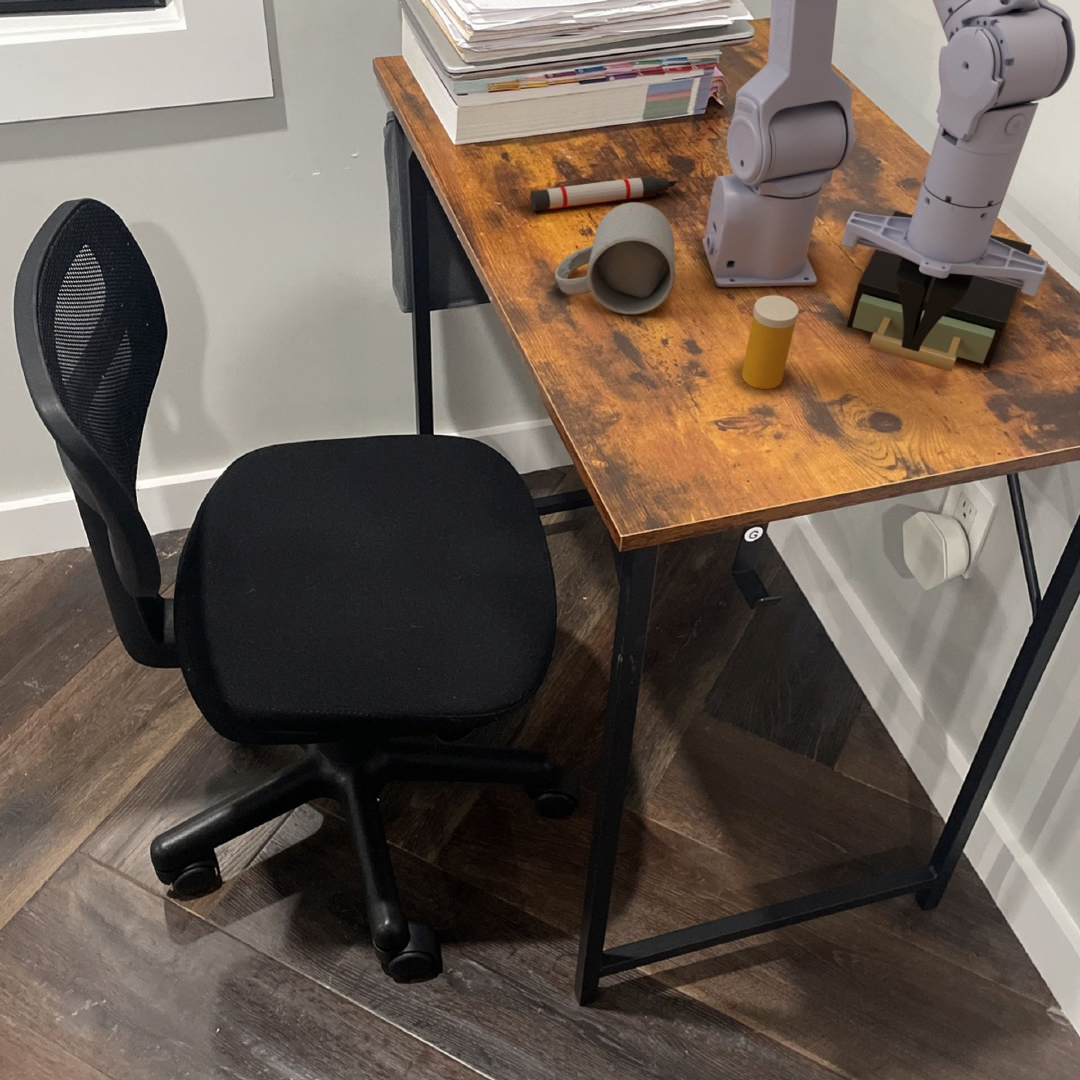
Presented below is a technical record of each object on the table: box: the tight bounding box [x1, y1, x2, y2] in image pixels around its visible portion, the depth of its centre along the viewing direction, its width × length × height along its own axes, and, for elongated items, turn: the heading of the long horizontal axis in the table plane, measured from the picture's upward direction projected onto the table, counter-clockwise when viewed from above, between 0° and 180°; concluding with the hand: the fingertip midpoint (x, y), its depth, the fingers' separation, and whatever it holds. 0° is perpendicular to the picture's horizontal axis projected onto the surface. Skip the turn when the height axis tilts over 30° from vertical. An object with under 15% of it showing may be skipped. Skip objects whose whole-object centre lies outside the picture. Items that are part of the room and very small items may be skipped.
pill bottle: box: [741, 294, 799, 390], centre depth 94 cm, size 4×4×7 cm
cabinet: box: [846, 210, 1033, 367], centre depth 103 cm, size 14×13×5 cm
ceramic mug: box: [554, 201, 676, 316], centre depth 102 cm, size 11×8×8 cm
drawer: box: [853, 294, 995, 373], centre depth 100 cm, size 17×11×3 cm
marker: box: [529, 175, 678, 212], centre depth 115 cm, size 15×2×2 cm, turn 106°
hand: (912, 342), depth 91 cm, fingers closed
